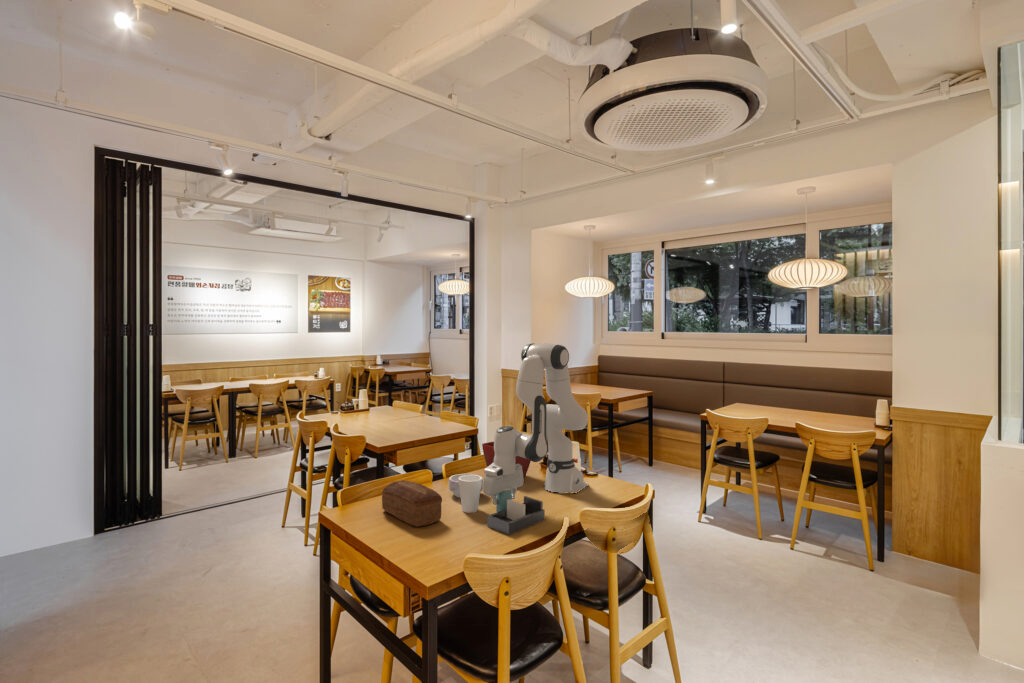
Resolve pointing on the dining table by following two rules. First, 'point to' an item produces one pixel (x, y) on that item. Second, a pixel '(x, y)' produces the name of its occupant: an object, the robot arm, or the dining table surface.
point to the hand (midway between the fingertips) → (503, 501)
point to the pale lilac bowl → (455, 484)
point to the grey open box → (509, 526)
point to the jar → (503, 499)
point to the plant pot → (489, 455)
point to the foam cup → (470, 492)
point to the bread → (412, 503)
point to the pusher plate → (515, 509)
